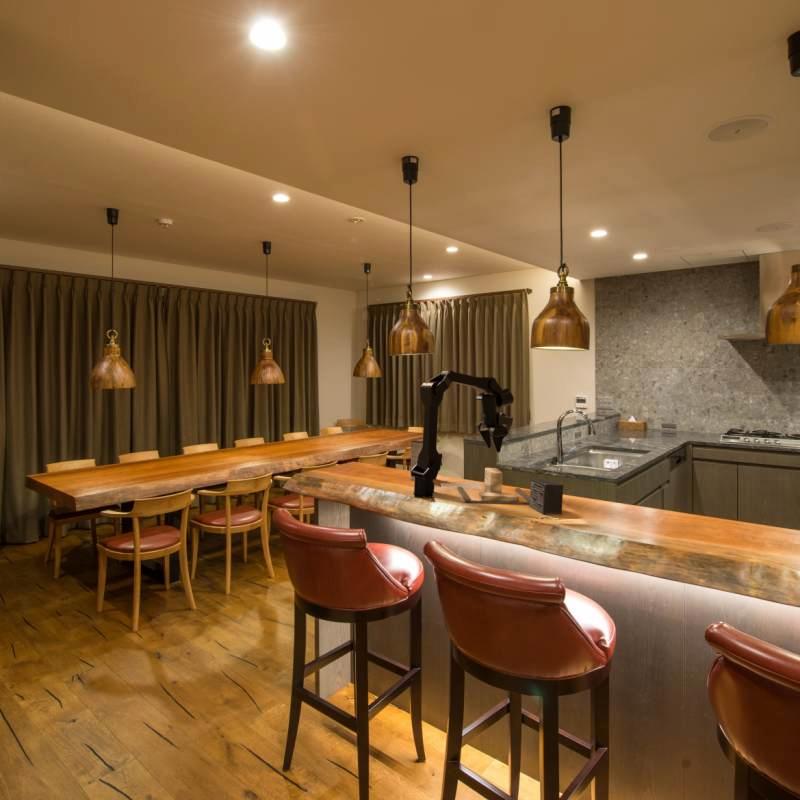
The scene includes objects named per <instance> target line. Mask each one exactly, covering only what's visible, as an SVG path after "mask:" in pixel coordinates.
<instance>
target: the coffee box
mask: <svg viewBox="0 0 800 800" xmlns="http://www.w3.org/2000/svg"><path fill="white" fill-rule="evenodd" d="M410 444H411V445H410V447H411V448H410V471H411V470H412V468H413V467H414V466H415V465H416V464H417V460H418V455H419V453H420V451H421V449H422V447H423V438H422V439H413V440H411V443H410ZM411 479H414V477H412V476H411V475H410V480H411Z"/></svg>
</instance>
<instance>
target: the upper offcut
mask: <svg viewBox="0 0 800 800" xmlns="http://www.w3.org/2000/svg"><path fill="white" fill-rule="evenodd" d="M519 499H520V498H519V495H518V494H517V493H511V492H509V493H508V492H502V493H485V492H482V491H481V492H479V493H478V500H479V501H480V500H481V501H516V502H520V501H519Z"/></svg>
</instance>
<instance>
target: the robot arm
mask: <svg viewBox="0 0 800 800" xmlns="http://www.w3.org/2000/svg"><path fill="white" fill-rule="evenodd" d="M452 384H457V385H461V386H466V387H471V388H473V390H475V391H477V392H480V393H479V394H478V395H477V396H476V398H475V400H476V401H480V405H481V412H480V417H482V420H480V421H477V422H476V423H475V430H477V432H478V434H479V436H480V437H481V439H482V440H483V442H484V443H485V445H486V447H487V448H488V449H490V448H492V444H493V446H494V449H495V451H496V453H497V454H498V453H501V450H502V449H501V448H502V445H503V440H504V438H506V437H507V436H508V435H509V434H510V431H509V428H508V427H507V426H509V427H512V426H513V421H514V417H510V416H507V414H506V413H504V412H500V411H498V408H503V407H507V406H511V405H513V403H514V400H515V399H514V398H515V397H514V396H513V394H512V391H510V389H509V387H501V385H499V383H498V382H497V379H496V378H495V377H494V376H474V375H469V374H465V373H461V372H456V371H454V370H442V371H441V372H440V373H439V374H438V375H436V376H434V377H432V378H431V379H429V380H428V381H425V382H423V383H422V384H421V385H420V388H419V392H420V401H421V402H422V405H423V407H424V409H423V428H422V430H423V431H422V439H423V447H422V449H421V451H420V453H419V455H418V460H417V464H416V465H415V466H414V467H413V468H412V470H411V469H410V470H409V471H410V477H411V476H412V477H414V480H413V481H414V482H413V497H414V498H434V494H435V482H434V481H435V480H436V479H437V478H438V474H439V472H440V471H441V468H442V467H441V466H443V461H442V460H443V453H440V452H438V448H437V442H438V423H439V421H438V419H439V407H440V406H441V404H442V401H443V399H444V393H445V392H446V391H447V390H448V389H449V388H450V386H451V385H452Z"/></svg>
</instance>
